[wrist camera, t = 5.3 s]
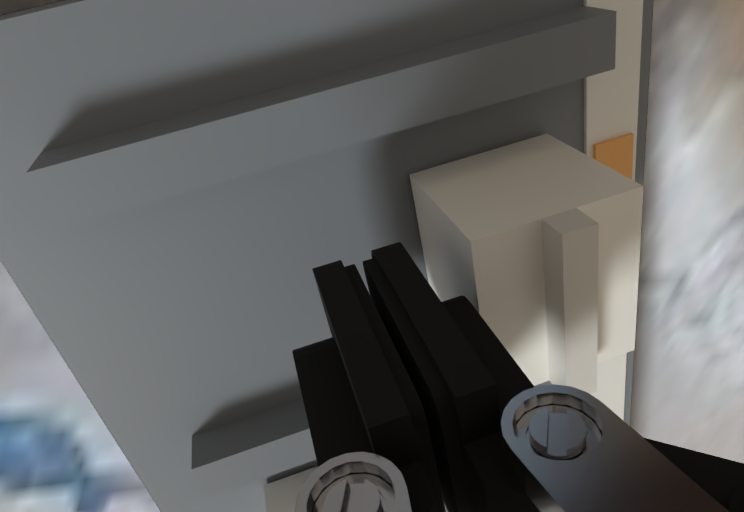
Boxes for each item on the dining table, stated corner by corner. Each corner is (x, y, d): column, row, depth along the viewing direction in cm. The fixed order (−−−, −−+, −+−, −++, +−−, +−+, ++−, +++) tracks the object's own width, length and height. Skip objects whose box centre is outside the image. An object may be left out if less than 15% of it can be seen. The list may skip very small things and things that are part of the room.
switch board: (-77, 34, 10) (-172, 64, 7) (593, -126, 12) (704, -146, 9) (304, 691, 23) (317, 783, 21) (590, 574, 25) (634, 646, 22)
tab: (409, 174, 11) (487, 259, 8) (546, 133, 12) (669, 200, 9) (433, 312, 13) (504, 424, 10) (552, 273, 14) (655, 369, 10)
